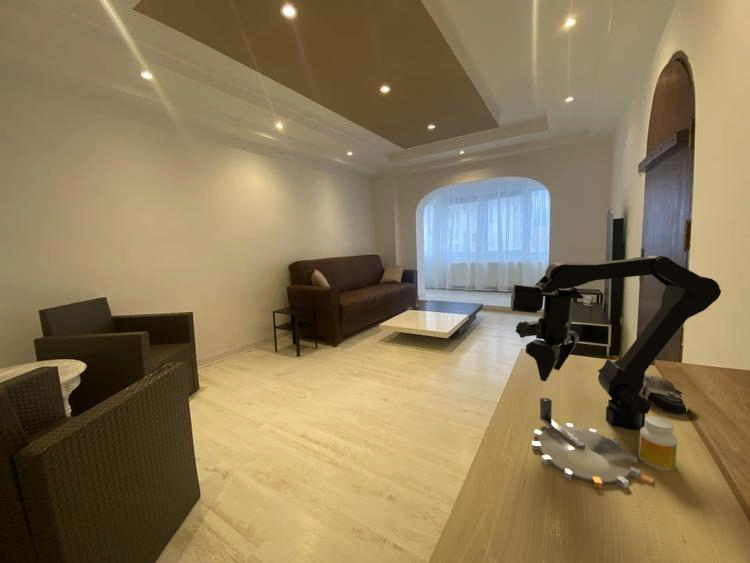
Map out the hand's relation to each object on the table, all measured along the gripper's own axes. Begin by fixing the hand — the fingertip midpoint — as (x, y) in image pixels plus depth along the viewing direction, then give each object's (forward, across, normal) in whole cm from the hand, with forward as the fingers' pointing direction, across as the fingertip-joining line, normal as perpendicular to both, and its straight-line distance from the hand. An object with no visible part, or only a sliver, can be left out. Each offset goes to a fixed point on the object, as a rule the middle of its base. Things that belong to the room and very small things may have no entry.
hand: (550, 375), depth 78 cm
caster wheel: (+10, -28, +19) cm, 35 cm away
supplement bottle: (+11, +3, +22) cm, 24 cm away
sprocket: (+10, +10, +10) cm, 17 cm away
